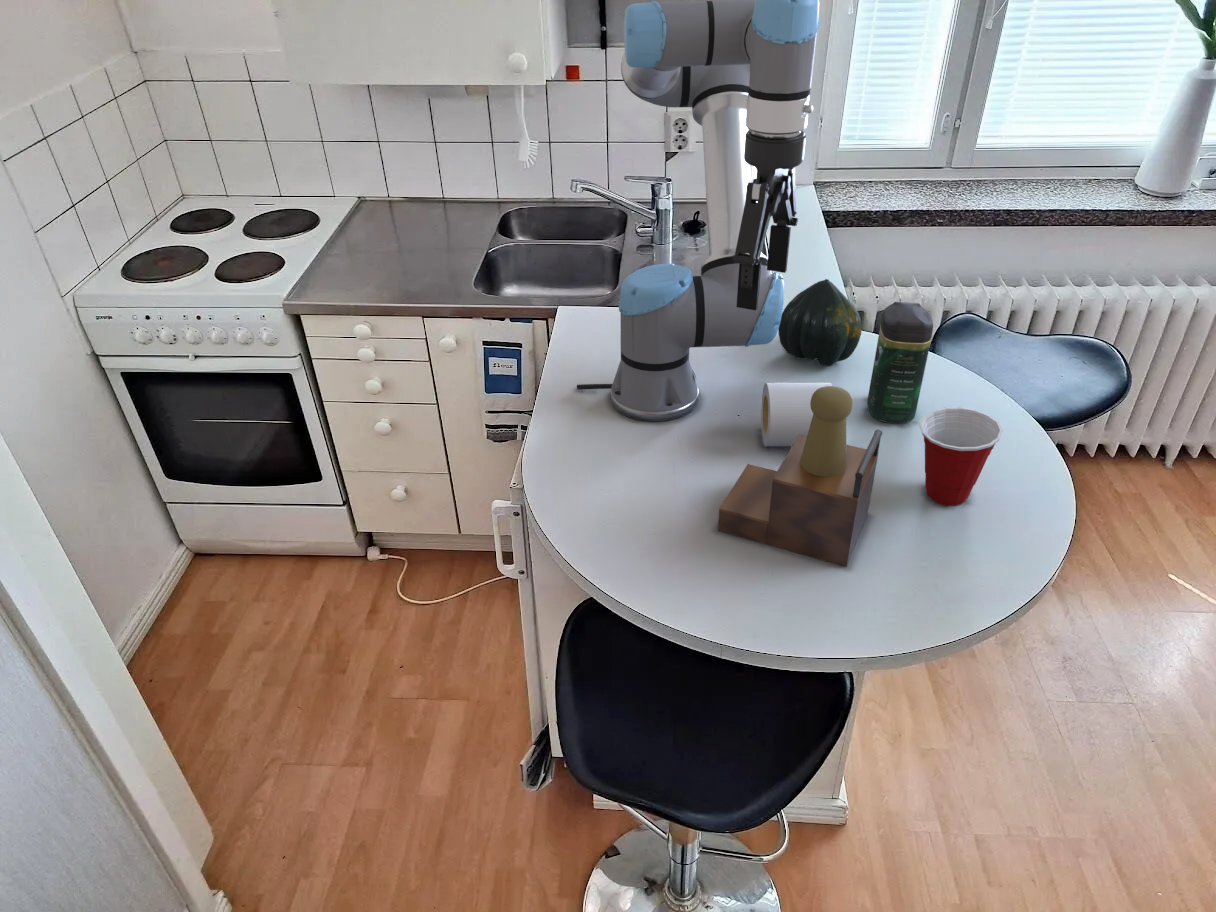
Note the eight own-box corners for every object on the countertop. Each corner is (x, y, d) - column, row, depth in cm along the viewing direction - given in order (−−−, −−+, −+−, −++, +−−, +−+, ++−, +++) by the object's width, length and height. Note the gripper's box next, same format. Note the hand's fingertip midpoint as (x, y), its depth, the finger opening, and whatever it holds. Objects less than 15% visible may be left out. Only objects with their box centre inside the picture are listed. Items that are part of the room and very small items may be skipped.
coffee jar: (917, 427, 143) (939, 323, 132) (868, 423, 144) (885, 320, 134) (912, 398, 151) (932, 298, 140) (865, 395, 152) (881, 296, 142)
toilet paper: (766, 458, 136) (772, 403, 131) (759, 425, 144) (764, 371, 139) (831, 458, 136) (839, 402, 130) (820, 425, 144) (827, 371, 139)
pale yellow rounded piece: (816, 446, 119) (826, 375, 112) (855, 463, 115) (867, 390, 109) (790, 464, 115) (798, 391, 109) (829, 482, 111) (840, 408, 105)
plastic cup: (895, 476, 131) (908, 407, 125) (964, 471, 132) (981, 402, 125) (922, 519, 122) (938, 448, 116) (997, 514, 123) (1017, 443, 116)
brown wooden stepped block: (717, 531, 121) (723, 442, 113) (745, 485, 130) (752, 400, 122) (847, 567, 114) (862, 475, 106) (867, 516, 123) (883, 428, 115)
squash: (808, 358, 152) (855, 284, 151) (751, 331, 163) (795, 262, 162) (846, 389, 162) (890, 319, 161) (790, 362, 173) (831, 296, 171)
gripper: (776, 160, 98) (761, 330, 110) (830, 110, 117) (812, 260, 129) (713, 153, 101) (705, 320, 113) (775, 105, 119) (763, 253, 131)
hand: (762, 288), depth 121 cm, fingers open, 13 cm apart
